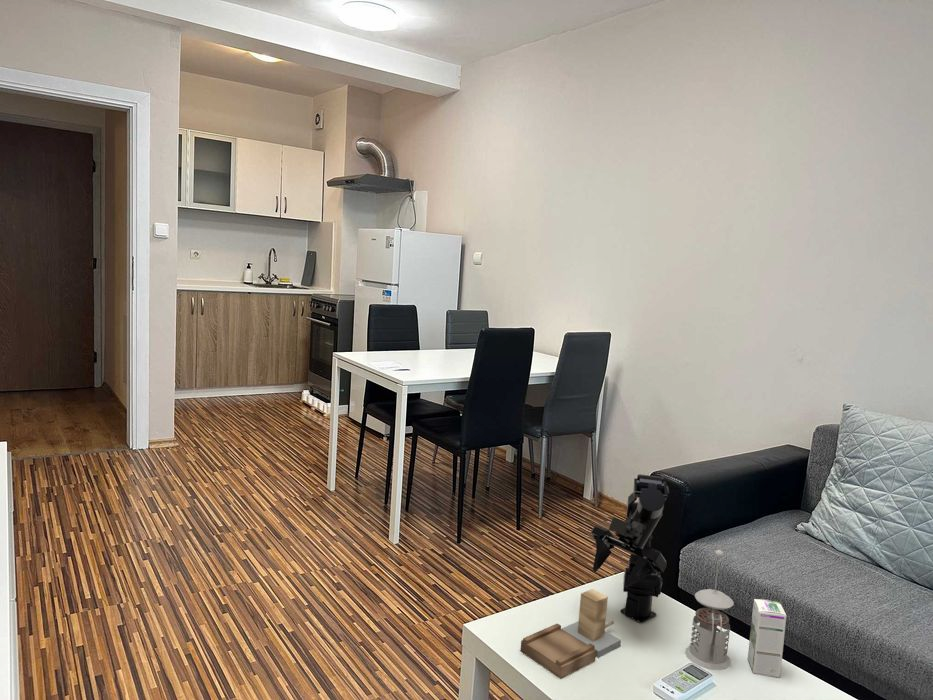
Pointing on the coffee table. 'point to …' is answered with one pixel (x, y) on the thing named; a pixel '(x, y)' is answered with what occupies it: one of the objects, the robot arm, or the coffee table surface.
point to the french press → (711, 629)
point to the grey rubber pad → (601, 644)
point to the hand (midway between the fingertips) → (609, 578)
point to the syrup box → (766, 637)
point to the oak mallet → (593, 615)
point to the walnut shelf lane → (558, 651)
